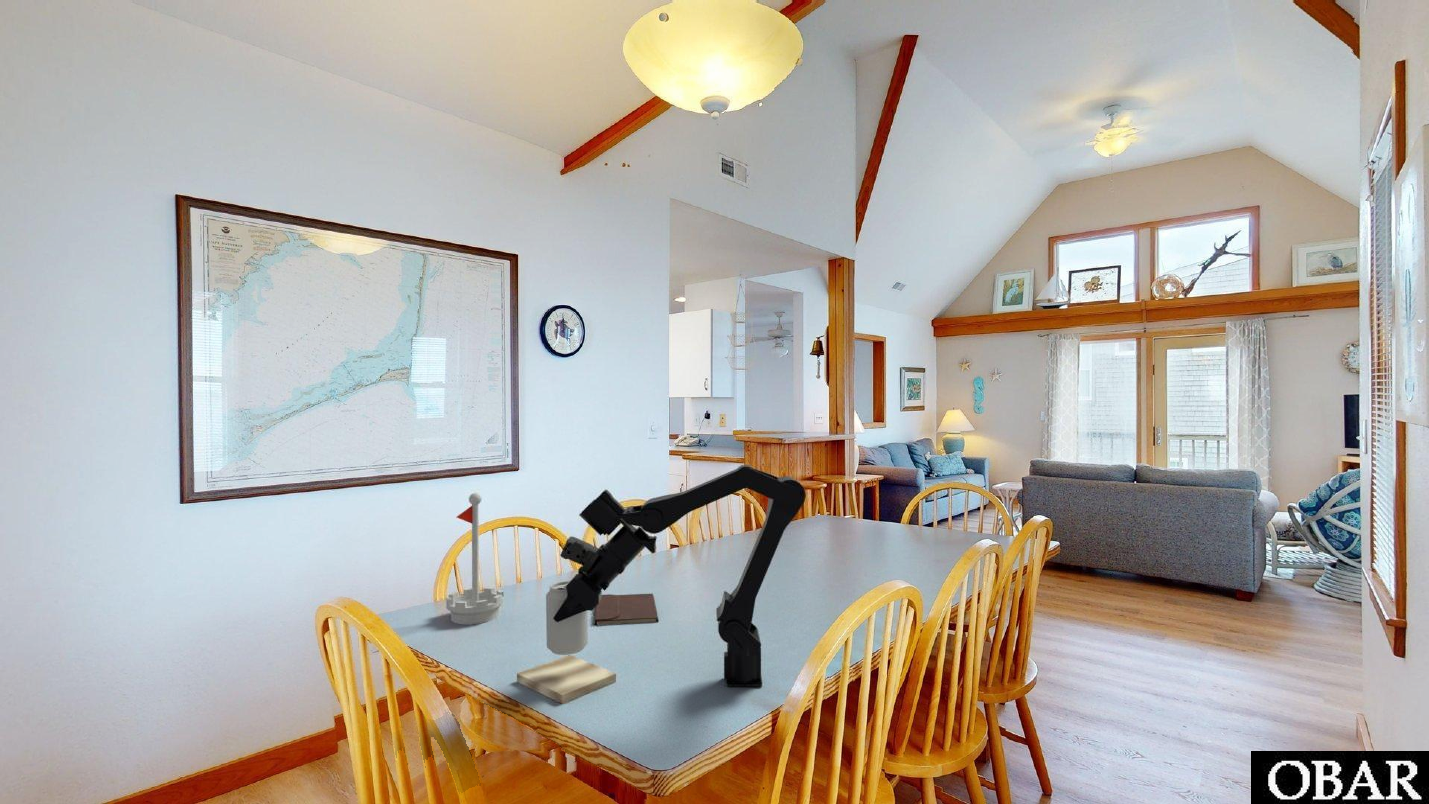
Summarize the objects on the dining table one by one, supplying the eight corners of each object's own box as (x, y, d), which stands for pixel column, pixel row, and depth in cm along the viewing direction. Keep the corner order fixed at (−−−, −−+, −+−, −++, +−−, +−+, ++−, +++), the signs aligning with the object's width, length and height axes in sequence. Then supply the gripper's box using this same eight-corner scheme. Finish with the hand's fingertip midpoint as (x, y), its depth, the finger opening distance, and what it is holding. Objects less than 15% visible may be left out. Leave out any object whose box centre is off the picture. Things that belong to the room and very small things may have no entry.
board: (516, 681, 123) (516, 673, 123) (569, 662, 132) (569, 654, 132) (562, 703, 114) (562, 695, 114) (616, 681, 123) (616, 673, 123)
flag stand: (481, 605, 170) (481, 488, 170) (514, 614, 163) (514, 491, 162) (435, 619, 159) (434, 494, 159) (468, 629, 152) (468, 498, 152)
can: (538, 653, 121) (537, 587, 121) (561, 639, 128) (561, 577, 128) (573, 658, 119) (572, 591, 118) (595, 644, 126) (594, 580, 126)
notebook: (653, 599, 176) (653, 591, 176) (658, 624, 157) (658, 615, 157) (596, 602, 174) (596, 594, 174) (593, 627, 154) (593, 619, 154)
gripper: (595, 514, 133) (540, 570, 133) (577, 532, 114) (514, 598, 114) (635, 552, 133) (580, 609, 133) (624, 577, 114) (561, 643, 114)
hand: (559, 613), depth 123 cm, fingers closed on can, 7 cm apart
